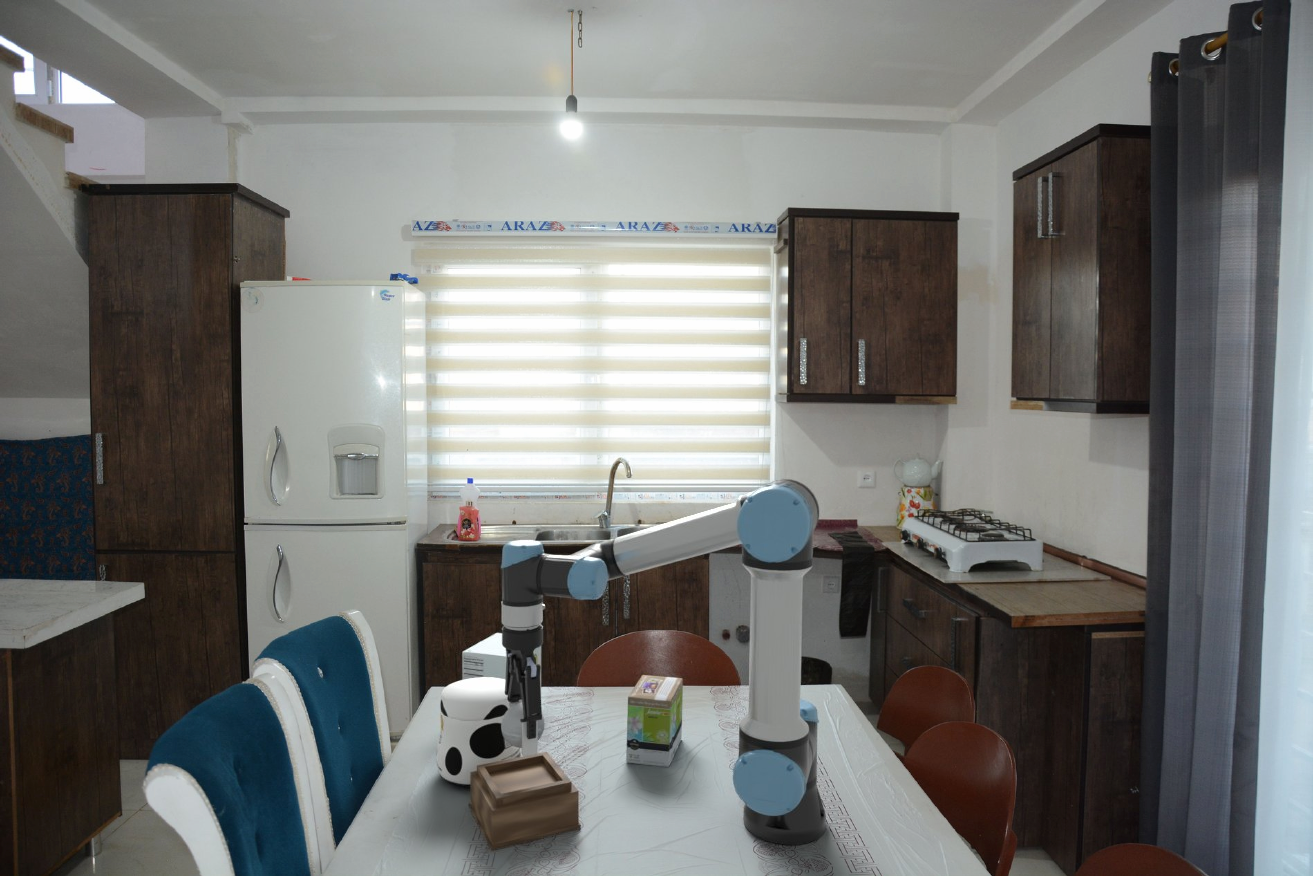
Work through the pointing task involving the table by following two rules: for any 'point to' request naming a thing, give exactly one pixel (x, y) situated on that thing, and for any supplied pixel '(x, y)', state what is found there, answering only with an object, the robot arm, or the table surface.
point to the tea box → (654, 720)
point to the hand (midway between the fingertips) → (522, 744)
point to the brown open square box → (523, 800)
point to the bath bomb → (516, 725)
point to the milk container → (472, 728)
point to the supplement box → (489, 659)
